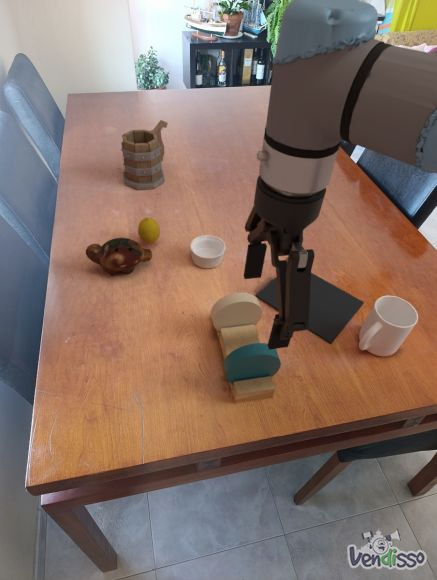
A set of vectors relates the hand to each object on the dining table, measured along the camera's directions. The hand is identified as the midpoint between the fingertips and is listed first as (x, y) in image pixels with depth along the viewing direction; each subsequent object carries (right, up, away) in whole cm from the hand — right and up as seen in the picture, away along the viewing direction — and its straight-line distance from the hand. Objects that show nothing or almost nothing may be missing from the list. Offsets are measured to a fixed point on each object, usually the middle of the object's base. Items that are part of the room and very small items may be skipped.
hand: (263, 308), depth 55 cm
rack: (-2, -11, +20) cm, 23 cm away
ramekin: (-10, +11, +41) cm, 43 cm away
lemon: (-25, +15, +44) cm, 52 cm away
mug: (+26, -9, +24) cm, 37 cm away
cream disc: (-3, -2, +19) cm, 19 cm away
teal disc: (-1, -11, +11) cm, 15 cm away
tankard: (-29, +41, +68) cm, 84 cm away
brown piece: (-31, +8, +37) cm, 48 cm away
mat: (+15, 0, +33) cm, 36 cm away
